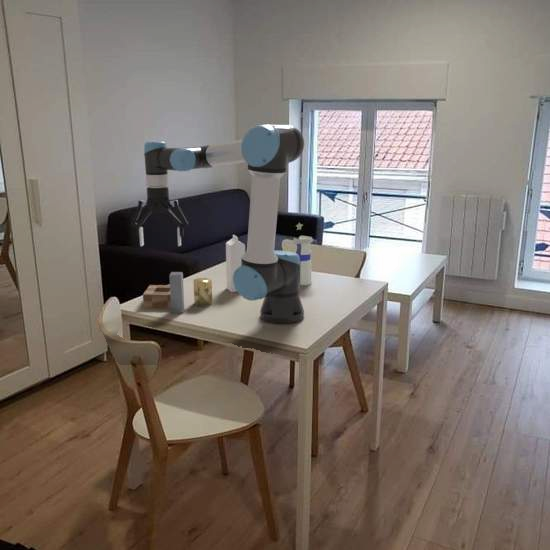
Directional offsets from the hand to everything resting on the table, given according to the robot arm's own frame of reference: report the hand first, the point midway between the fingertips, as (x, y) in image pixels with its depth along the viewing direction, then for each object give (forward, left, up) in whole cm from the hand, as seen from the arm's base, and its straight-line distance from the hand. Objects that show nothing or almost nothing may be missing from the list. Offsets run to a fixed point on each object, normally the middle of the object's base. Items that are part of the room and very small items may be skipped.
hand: (160, 245), depth 204 cm
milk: (+17, -26, -22) cm, 38 cm away
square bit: (-10, -7, -22) cm, 25 cm away
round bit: (-1, -15, -22) cm, 26 cm away
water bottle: (+27, -53, -22) cm, 63 cm away
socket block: (0, 0, -22) cm, 22 cm away
